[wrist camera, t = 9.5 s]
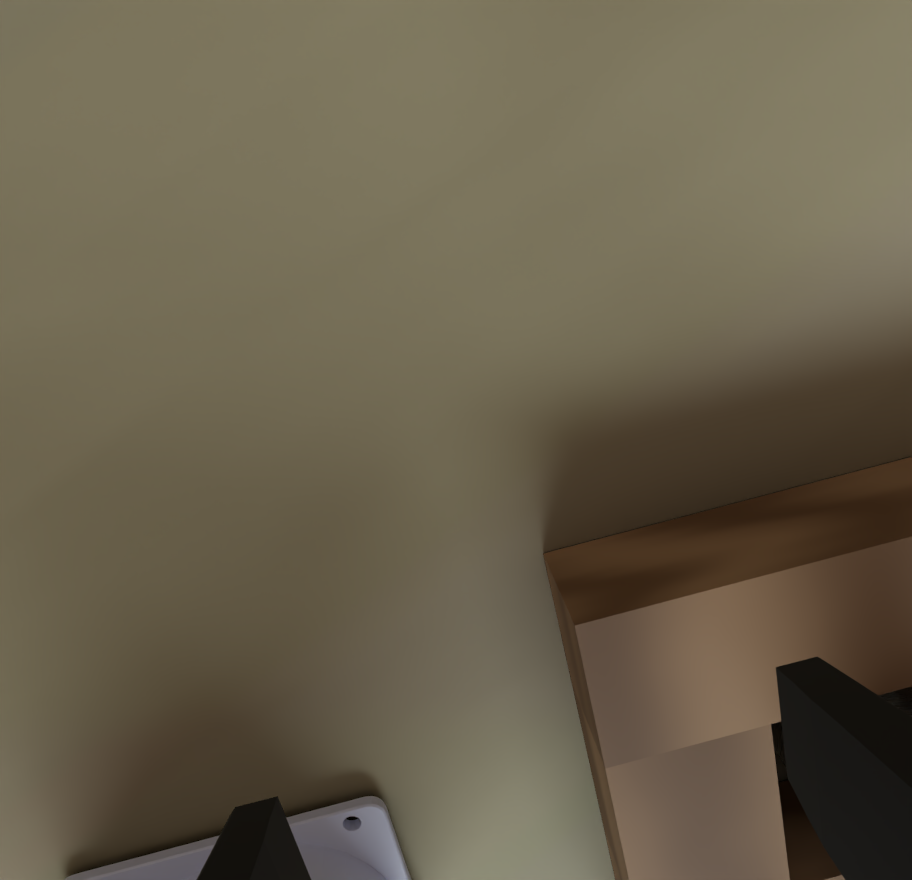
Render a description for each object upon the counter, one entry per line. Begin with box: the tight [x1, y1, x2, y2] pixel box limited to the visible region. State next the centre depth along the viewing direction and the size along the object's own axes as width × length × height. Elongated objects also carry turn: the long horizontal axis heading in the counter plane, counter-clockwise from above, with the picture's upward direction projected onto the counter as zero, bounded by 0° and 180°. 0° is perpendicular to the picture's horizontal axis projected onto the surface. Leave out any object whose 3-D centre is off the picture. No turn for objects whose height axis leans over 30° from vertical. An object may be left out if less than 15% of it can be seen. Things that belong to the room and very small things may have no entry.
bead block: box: [543, 457, 912, 880], centre depth 24 cm, size 14×14×4 cm
